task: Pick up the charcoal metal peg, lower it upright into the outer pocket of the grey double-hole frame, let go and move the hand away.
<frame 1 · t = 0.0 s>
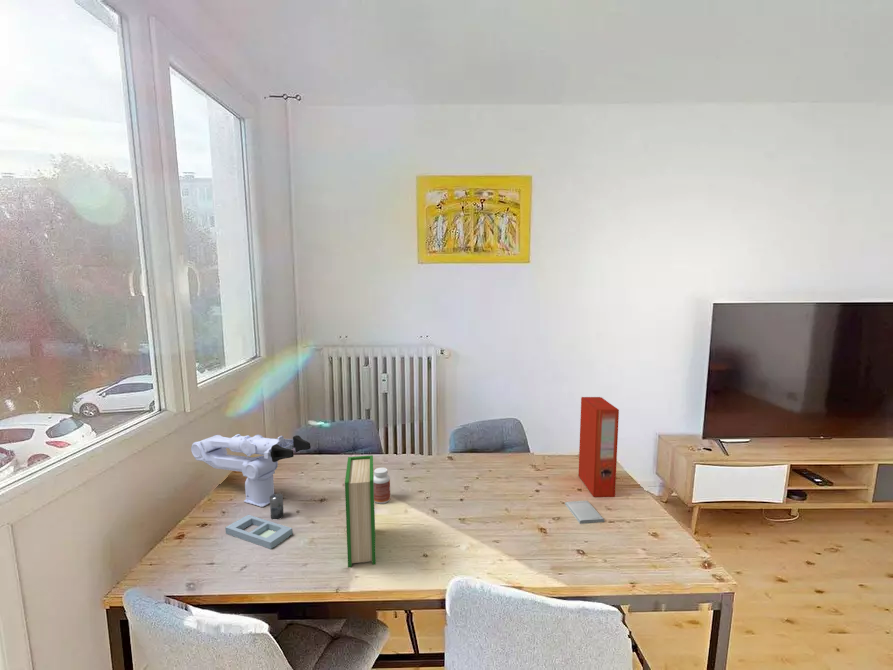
hand: (301, 449, 147), 22 cm above the table, tool horizontal, fingers open, 7 cm apart
file binder: (596, 486, 166), on the table
pill bottle: (381, 500, 157), on the table
hardback book: (362, 547, 129), on the table
peg: (277, 516, 146), on the table
hard drive: (583, 515, 147), on the table
grey double-hole frame: (259, 533, 136), on the table
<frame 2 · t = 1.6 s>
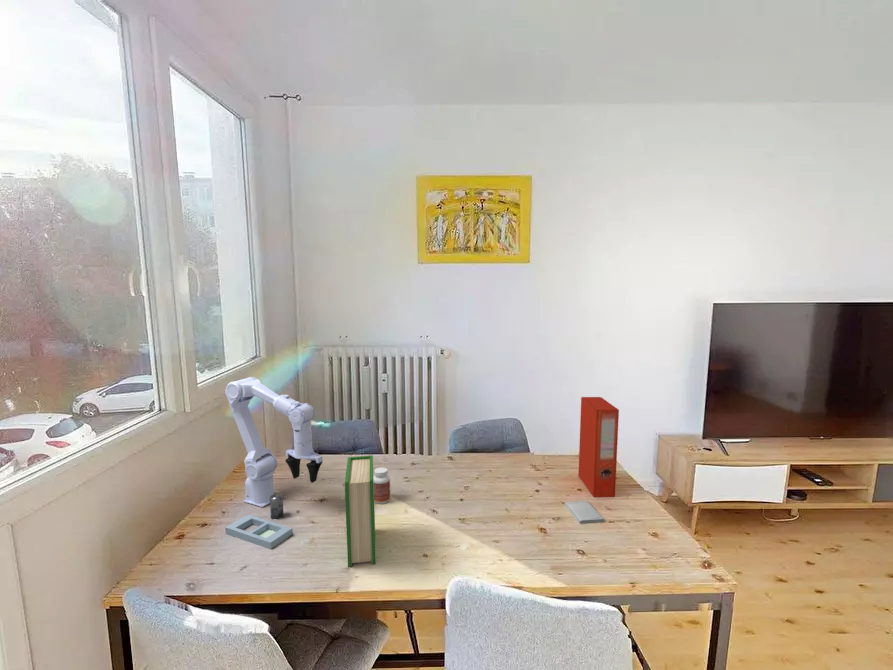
hand: (304, 479, 150), 10 cm above the table, tool pointing down, fingers open, 7 cm apart
nothing on the table moved.
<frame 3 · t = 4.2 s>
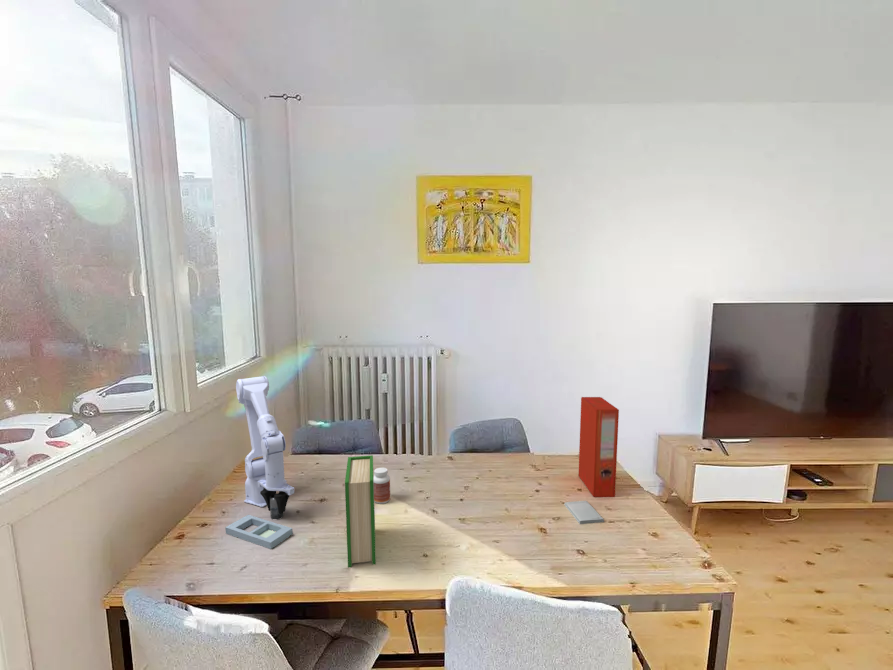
hand: (277, 510, 146), 2 cm above the table, tool pointing down, fingers closed on peg, 4 cm apart
peg: (277, 516, 146), on the table, touching gripper
everything else where it was.
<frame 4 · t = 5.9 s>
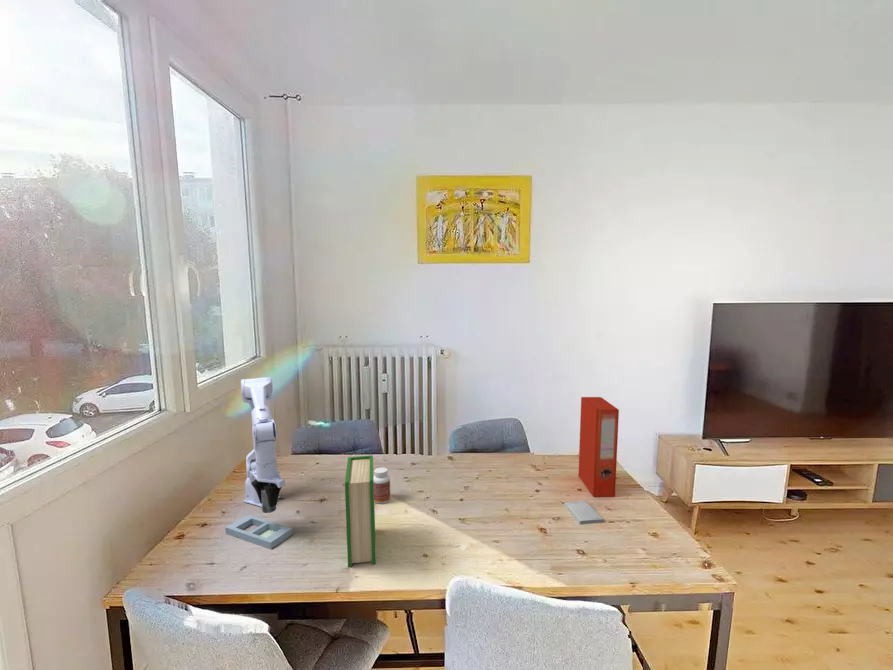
hand: (268, 503, 136), 9 cm above the table, tool pointing down, fingers closed on peg, 4 cm apart
peg: (269, 509, 137), point 7 cm above the table, touching gripper
everything else where it was.
when the fingers open (3 cm above the table, at t = 7.6 s): peg drops 1 cm, resting on grey double-hole frame.
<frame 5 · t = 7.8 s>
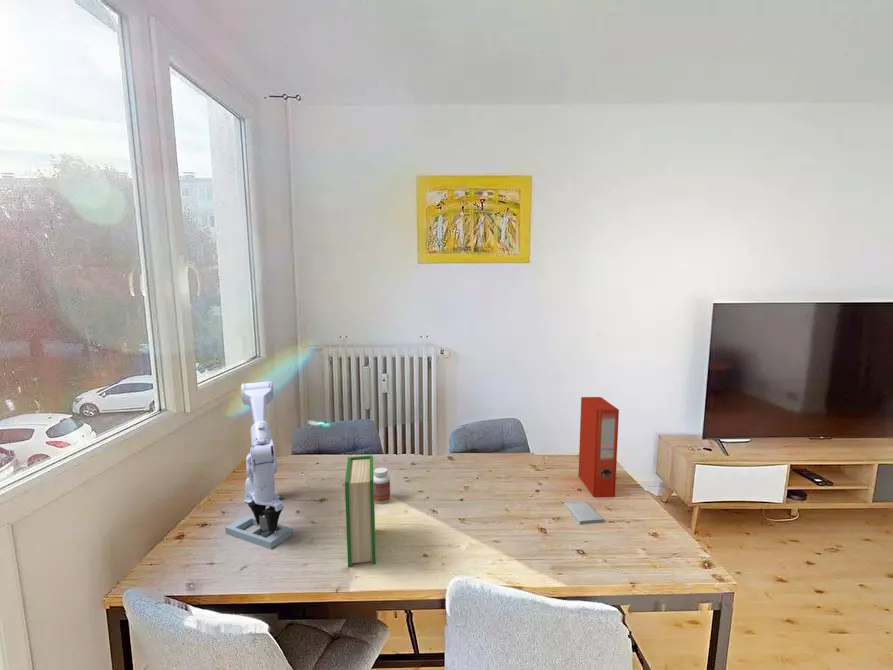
hand: (266, 526, 134), 3 cm above the table, tool pointing down, fingers open, 6 cm apart
peg: (267, 535, 135), resting on grey double-hole frame
everything else where it was.
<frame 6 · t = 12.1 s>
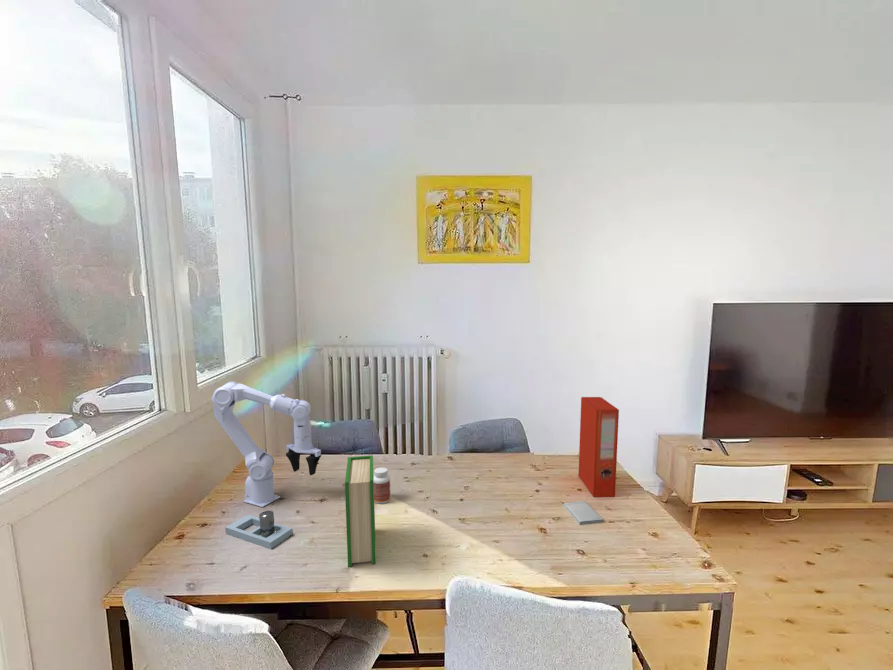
hand: (304, 472, 158), 9 cm above the table, tool pointing down, fingers open, 7 cm apart
nothing on the table moved.
at the end: peg 0.1 cm from the target spot on the grey double-hole frame, point 0.2 cm above the grey double-hole frame's base; peg tilted 1°; the gripper is holding nothing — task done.
